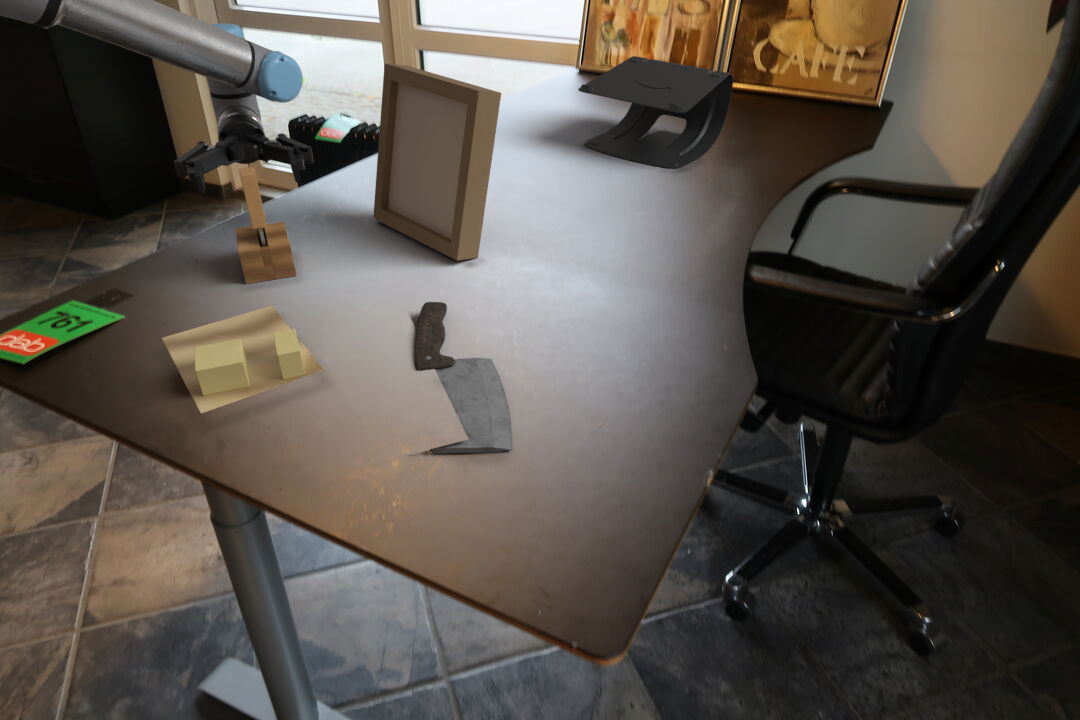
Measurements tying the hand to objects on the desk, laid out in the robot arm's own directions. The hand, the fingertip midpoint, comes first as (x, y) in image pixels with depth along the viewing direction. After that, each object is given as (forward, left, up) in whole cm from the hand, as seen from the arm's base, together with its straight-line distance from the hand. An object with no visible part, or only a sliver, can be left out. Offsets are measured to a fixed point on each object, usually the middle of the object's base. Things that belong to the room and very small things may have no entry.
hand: (249, 179), depth 104 cm
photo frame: (+10, +28, -12) cm, 32 cm away
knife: (+6, -1, -12) cm, 13 cm away
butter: (+33, -15, -10) cm, 38 cm away
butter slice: (+35, -8, -10) cm, 37 cm away
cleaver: (+46, +8, -12) cm, 48 cm away
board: (+29, -12, -12) cm, 33 cm away
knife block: (+6, -1, -12) cm, 13 cm away
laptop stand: (-3, +87, -12) cm, 88 cm away
